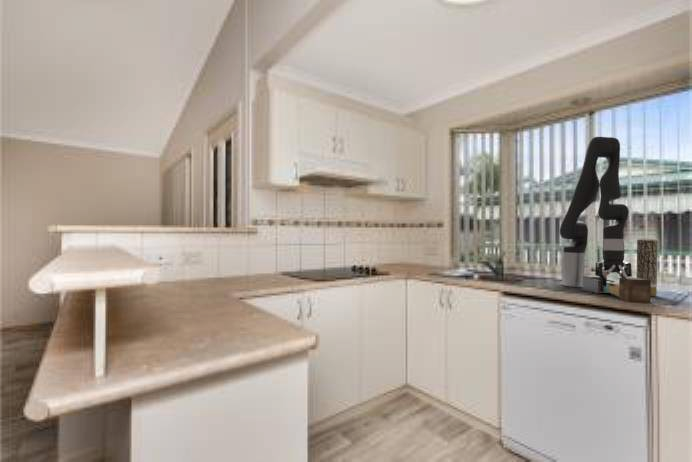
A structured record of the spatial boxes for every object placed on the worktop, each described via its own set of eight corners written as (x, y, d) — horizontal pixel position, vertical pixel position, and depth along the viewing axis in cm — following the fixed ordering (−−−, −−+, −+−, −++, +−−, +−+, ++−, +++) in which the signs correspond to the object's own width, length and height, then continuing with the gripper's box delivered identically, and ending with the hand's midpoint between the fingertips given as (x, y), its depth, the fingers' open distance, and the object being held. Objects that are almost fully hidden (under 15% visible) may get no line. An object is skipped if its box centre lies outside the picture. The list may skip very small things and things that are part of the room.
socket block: (619, 299, 139) (619, 277, 139) (639, 299, 139) (639, 278, 139) (629, 302, 134) (629, 279, 134) (650, 302, 134) (650, 279, 134)
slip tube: (588, 288, 160) (588, 278, 160) (596, 288, 160) (596, 278, 160) (620, 295, 141) (620, 285, 141) (630, 296, 141) (630, 285, 141)
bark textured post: (660, 297, 146) (661, 239, 146) (642, 296, 148) (643, 239, 148) (649, 294, 153) (650, 239, 153) (632, 293, 154) (633, 238, 154)
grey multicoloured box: (582, 289, 161) (582, 275, 161) (598, 290, 161) (598, 275, 161) (597, 293, 151) (597, 278, 151) (614, 294, 151) (614, 278, 151)
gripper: (622, 249, 152) (622, 285, 152) (590, 248, 152) (590, 284, 152) (636, 249, 145) (636, 287, 144) (603, 249, 144) (603, 287, 144)
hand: (613, 286), depth 148 cm, fingers open, 8 cm apart
